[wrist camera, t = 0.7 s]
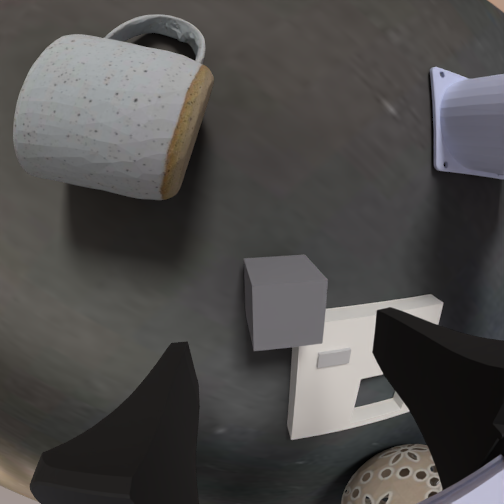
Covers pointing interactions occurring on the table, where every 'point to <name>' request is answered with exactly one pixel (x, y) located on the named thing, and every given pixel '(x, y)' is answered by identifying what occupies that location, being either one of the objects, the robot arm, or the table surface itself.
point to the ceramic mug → (114, 110)
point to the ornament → (394, 477)
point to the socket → (345, 369)
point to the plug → (284, 301)
